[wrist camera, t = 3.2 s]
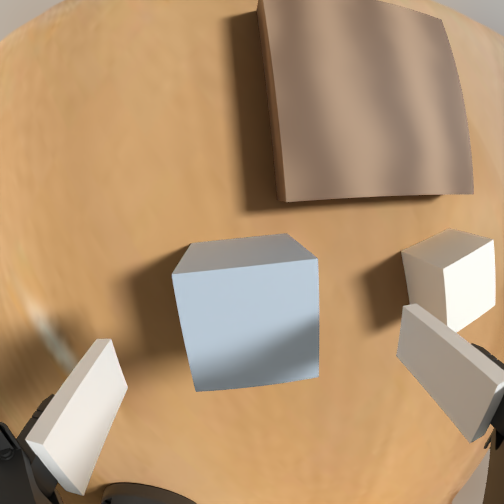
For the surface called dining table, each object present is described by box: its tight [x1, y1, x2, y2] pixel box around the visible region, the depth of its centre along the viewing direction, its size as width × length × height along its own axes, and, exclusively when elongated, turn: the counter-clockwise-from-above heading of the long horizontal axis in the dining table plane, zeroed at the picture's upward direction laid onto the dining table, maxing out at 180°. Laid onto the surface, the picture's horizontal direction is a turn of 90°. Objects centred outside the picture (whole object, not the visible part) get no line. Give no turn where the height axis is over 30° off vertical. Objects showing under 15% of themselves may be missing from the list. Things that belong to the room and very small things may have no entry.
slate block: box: [172, 233, 319, 392], centre depth 19 cm, size 7×7×8 cm
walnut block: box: [257, 0, 474, 202], centre depth 19 cm, size 16×16×4 cm
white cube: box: [401, 228, 495, 332], centre depth 21 cm, size 6×6×6 cm
